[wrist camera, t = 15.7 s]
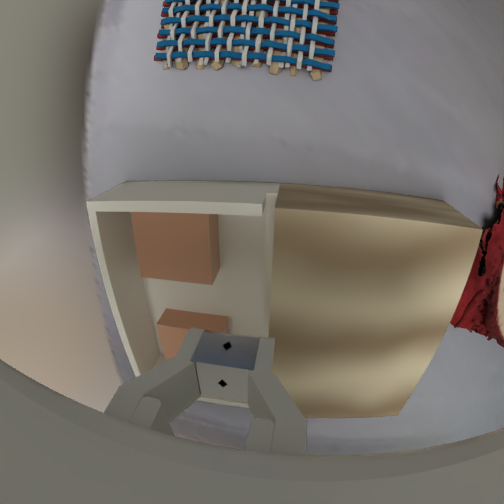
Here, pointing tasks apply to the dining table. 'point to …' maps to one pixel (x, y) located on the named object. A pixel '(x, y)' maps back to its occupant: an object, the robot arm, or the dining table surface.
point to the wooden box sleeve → (362, 294)
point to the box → (184, 293)
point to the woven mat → (249, 33)
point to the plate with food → (485, 285)
